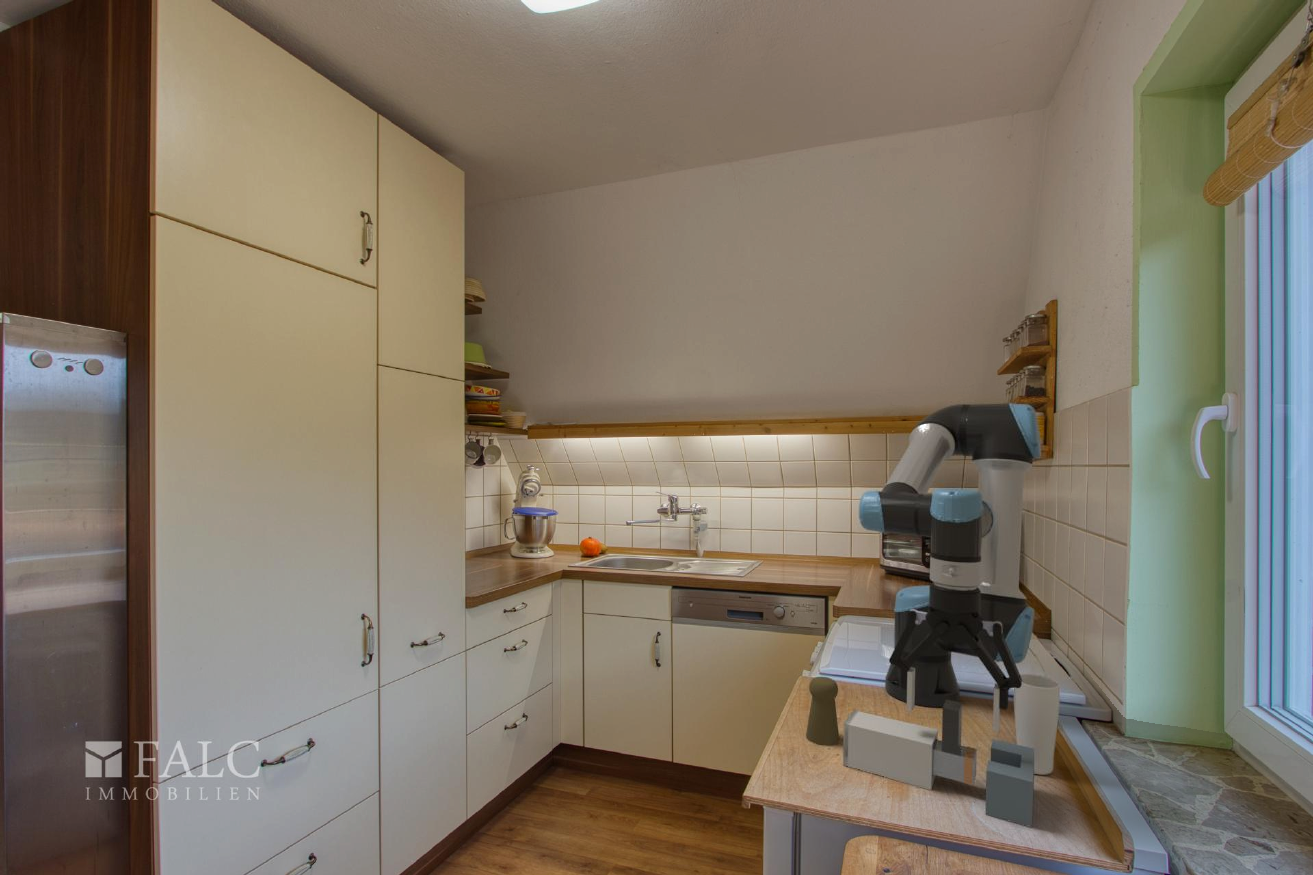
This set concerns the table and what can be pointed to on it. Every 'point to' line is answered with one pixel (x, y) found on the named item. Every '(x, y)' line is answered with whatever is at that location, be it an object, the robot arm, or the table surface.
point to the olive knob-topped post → (823, 712)
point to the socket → (1010, 782)
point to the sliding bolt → (953, 748)
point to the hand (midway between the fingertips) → (952, 718)
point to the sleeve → (889, 748)
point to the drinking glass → (1037, 718)
